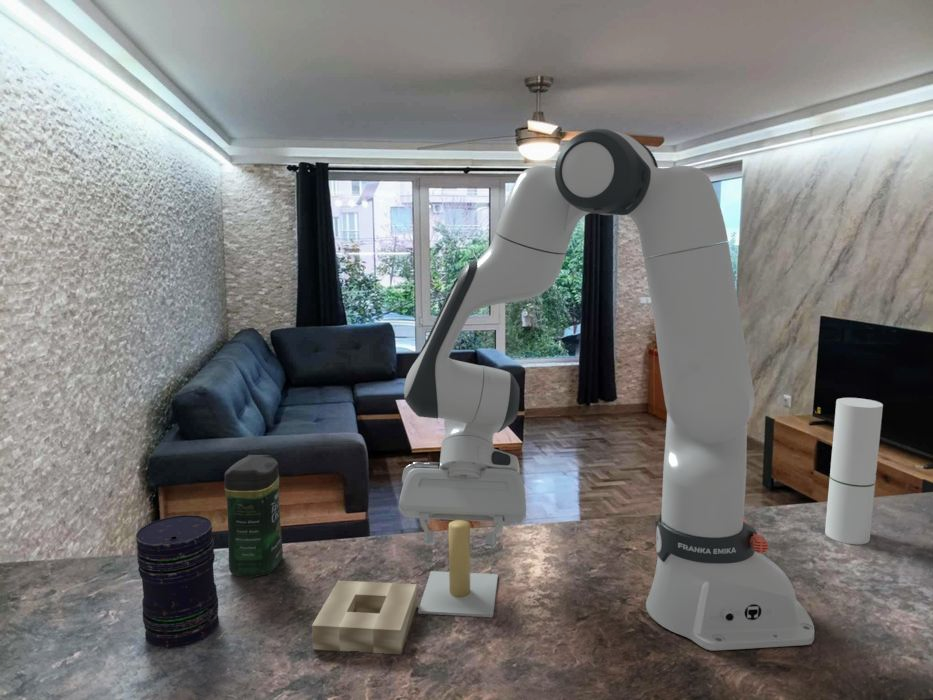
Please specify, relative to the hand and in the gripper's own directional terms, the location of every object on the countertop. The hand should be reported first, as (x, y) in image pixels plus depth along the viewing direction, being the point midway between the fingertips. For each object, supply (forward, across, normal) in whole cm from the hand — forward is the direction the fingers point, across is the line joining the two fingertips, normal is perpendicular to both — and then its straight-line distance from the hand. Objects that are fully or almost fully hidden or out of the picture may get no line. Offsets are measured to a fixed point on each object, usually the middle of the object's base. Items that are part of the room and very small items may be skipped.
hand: (459, 545), depth 105 cm
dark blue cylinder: (+15, -38, -4) cm, 41 cm away
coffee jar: (+2, -35, +9) cm, 36 cm away
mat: (+6, 0, +5) cm, 8 cm away
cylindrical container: (-13, +68, +24) cm, 73 cm away
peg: (+6, 0, +4) cm, 7 cm away
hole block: (+13, -12, -2) cm, 18 cm away
